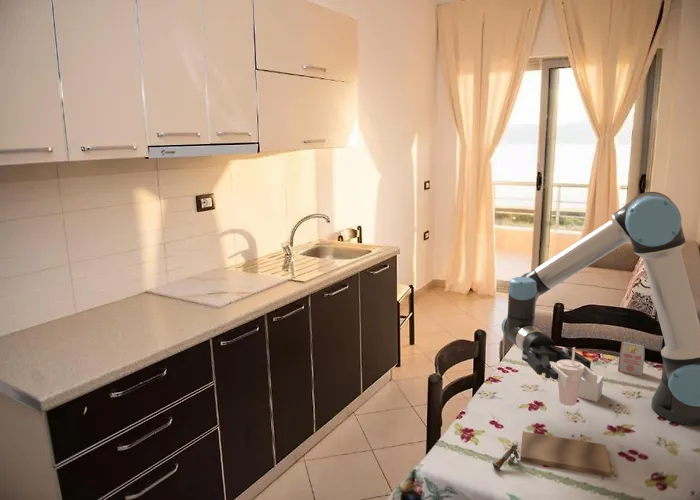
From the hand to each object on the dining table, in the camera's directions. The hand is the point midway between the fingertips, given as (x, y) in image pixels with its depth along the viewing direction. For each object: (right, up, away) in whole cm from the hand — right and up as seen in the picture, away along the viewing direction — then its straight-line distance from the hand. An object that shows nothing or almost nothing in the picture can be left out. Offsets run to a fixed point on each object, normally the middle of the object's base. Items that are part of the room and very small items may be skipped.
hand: (581, 381), depth 125 cm
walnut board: (0, -20, +9) cm, 23 cm away
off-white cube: (+19, -14, +40) cm, 47 cm away
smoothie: (-1, -7, +7) cm, 9 cm away
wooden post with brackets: (-16, -22, +6) cm, 28 cm away
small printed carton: (+40, -10, +56) cm, 69 cm away
